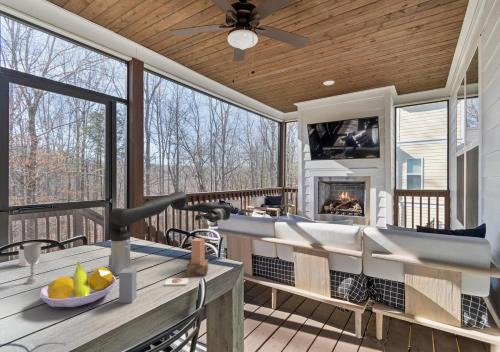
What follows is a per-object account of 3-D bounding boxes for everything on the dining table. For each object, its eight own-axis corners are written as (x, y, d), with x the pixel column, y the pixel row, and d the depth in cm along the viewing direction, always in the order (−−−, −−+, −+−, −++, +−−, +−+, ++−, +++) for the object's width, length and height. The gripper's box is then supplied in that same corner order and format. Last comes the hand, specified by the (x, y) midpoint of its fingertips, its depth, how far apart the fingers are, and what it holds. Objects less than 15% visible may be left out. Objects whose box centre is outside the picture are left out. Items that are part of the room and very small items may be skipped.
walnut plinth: (186, 275, 137) (186, 265, 137) (189, 268, 147) (189, 259, 147) (206, 275, 138) (206, 265, 138) (208, 268, 148) (208, 259, 148)
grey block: (119, 303, 107) (119, 272, 107) (124, 297, 112) (124, 268, 112) (132, 302, 108) (132, 272, 108) (136, 297, 113) (136, 268, 113)
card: (164, 285, 124) (164, 283, 124) (167, 280, 131) (167, 278, 131) (186, 285, 125) (186, 283, 125) (188, 279, 132) (188, 277, 132)
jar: (22, 262, 156) (22, 241, 156) (40, 261, 159) (40, 240, 159) (16, 267, 148) (16, 245, 148) (35, 265, 151) (35, 244, 151)
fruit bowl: (110, 309, 102) (110, 279, 102) (24, 320, 95) (24, 287, 95) (122, 281, 129) (122, 257, 129) (56, 288, 121) (56, 263, 121)
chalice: (20, 286, 123) (20, 246, 123) (24, 281, 129) (24, 243, 129) (40, 283, 127) (40, 244, 127) (43, 278, 133) (43, 241, 133)
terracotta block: (191, 263, 141) (191, 240, 141) (196, 260, 146) (196, 238, 146) (200, 264, 139) (200, 240, 139) (204, 261, 144) (204, 238, 144)
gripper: (204, 208, 167) (191, 211, 152) (226, 209, 163) (214, 212, 148) (204, 220, 167) (191, 224, 152) (225, 222, 163) (214, 226, 148)
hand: (202, 218), depth 150 cm, fingers open, 8 cm apart
